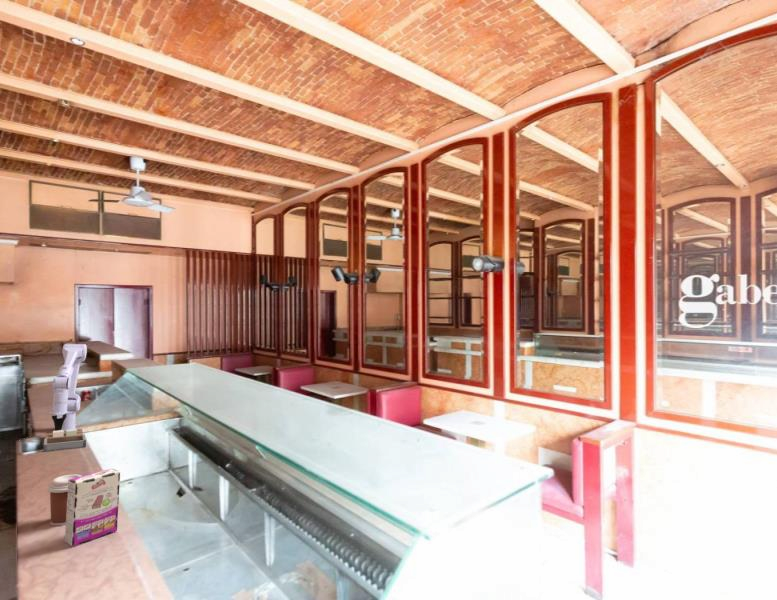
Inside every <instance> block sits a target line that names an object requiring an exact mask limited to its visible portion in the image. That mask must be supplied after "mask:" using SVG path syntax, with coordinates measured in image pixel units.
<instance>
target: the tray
mask: <svg viewBox="0 0 777 600" xmlns="http://www.w3.org/2000/svg"><path fill="white" fill-rule="evenodd" d="M81 448H87V439H86V434H84V433H83V435H82V440H78V441H68V442H59V443H49V444H47V438H46V437H45V438H44V440H43V452H44V453H45V452H54V451H55V450H56V451H65V450H72V449H81ZM56 451H55V452H56Z"/></svg>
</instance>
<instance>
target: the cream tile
mask: <svg viewBox="0 0 777 600" xmlns="http://www.w3.org/2000/svg"><path fill="white" fill-rule="evenodd" d="M52 432H53V437H60V436H64V430H58V431H55V430H53V431H52Z"/></svg>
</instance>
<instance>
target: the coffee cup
mask: <svg viewBox="0 0 777 600" xmlns="http://www.w3.org/2000/svg"><path fill="white" fill-rule="evenodd" d="M81 476H82V475H81V474H76V473H75V474H65V475H60V476H57V477H55V478H53V480H52V482H51V483H50V484H49V485H48V487H47V490H46V491H47V492H49V494H50V495H49V496H50V497H49V498H50V501H49V503H50V525H51V526H57V527H58V526H61V527H62V526H66V513H67V496H68V480H69V479H73V478H77V477H81Z"/></svg>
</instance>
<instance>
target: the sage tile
mask: <svg viewBox="0 0 777 600" xmlns="http://www.w3.org/2000/svg"><path fill="white" fill-rule="evenodd" d="M77 430H78V428H76V429H69V430H66V436H71V435H77Z"/></svg>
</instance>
